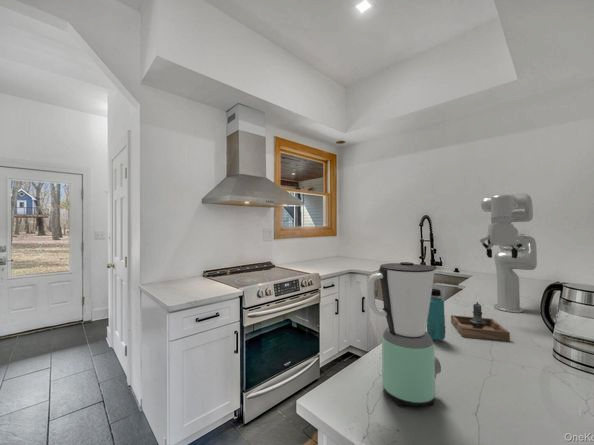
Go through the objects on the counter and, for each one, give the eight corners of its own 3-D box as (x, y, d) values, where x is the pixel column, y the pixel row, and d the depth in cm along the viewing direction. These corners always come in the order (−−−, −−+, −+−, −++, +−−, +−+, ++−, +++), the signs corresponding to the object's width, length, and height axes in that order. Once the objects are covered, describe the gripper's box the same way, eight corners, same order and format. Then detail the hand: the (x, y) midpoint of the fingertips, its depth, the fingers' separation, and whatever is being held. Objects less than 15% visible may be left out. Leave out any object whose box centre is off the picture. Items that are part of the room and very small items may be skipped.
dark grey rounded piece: (489, 333, 109) (488, 304, 109) (473, 331, 110) (472, 303, 111) (482, 327, 115) (481, 300, 115) (467, 326, 116) (466, 299, 116)
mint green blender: (423, 378, 77) (421, 259, 78) (455, 409, 64) (452, 266, 65) (360, 382, 76) (359, 260, 76) (380, 415, 62) (378, 267, 63)
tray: (451, 322, 123) (451, 315, 123) (492, 326, 118) (492, 318, 118) (461, 336, 107) (461, 328, 107) (509, 341, 102) (509, 332, 102)
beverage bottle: (449, 343, 100) (448, 291, 101) (431, 343, 101) (430, 291, 101) (440, 336, 107) (439, 287, 107) (423, 336, 107) (422, 287, 108)
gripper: (519, 221, 125) (519, 257, 124) (476, 221, 130) (477, 256, 129) (527, 220, 117) (528, 259, 117) (482, 221, 122) (483, 258, 122)
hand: (501, 257), depth 123 cm, fingers open, 9 cm apart
